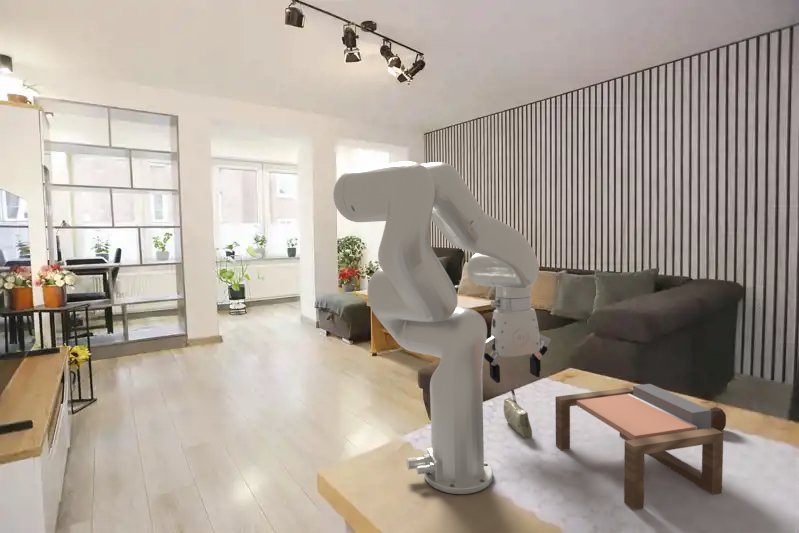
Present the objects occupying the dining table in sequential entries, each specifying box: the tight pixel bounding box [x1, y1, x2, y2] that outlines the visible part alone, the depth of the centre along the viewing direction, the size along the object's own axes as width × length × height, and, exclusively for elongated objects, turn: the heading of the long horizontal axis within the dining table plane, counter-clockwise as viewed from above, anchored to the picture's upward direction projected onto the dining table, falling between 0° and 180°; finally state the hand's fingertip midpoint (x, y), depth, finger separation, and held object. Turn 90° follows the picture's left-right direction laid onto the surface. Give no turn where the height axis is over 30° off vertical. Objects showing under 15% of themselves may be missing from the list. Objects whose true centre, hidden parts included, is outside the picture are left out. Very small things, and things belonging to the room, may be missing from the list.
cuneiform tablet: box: [503, 387, 533, 439], centre depth 101 cm, size 7×4×12 cm
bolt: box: [709, 406, 727, 432], centre depth 102 cm, size 6×5×15 cm
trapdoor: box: [576, 383, 711, 440], centre depth 83 cm, size 16×16×5 cm
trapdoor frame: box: [555, 387, 724, 511], centre depth 82 cm, size 17×22×10 cm
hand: (515, 377), depth 100 cm, fingers open, 9 cm apart
